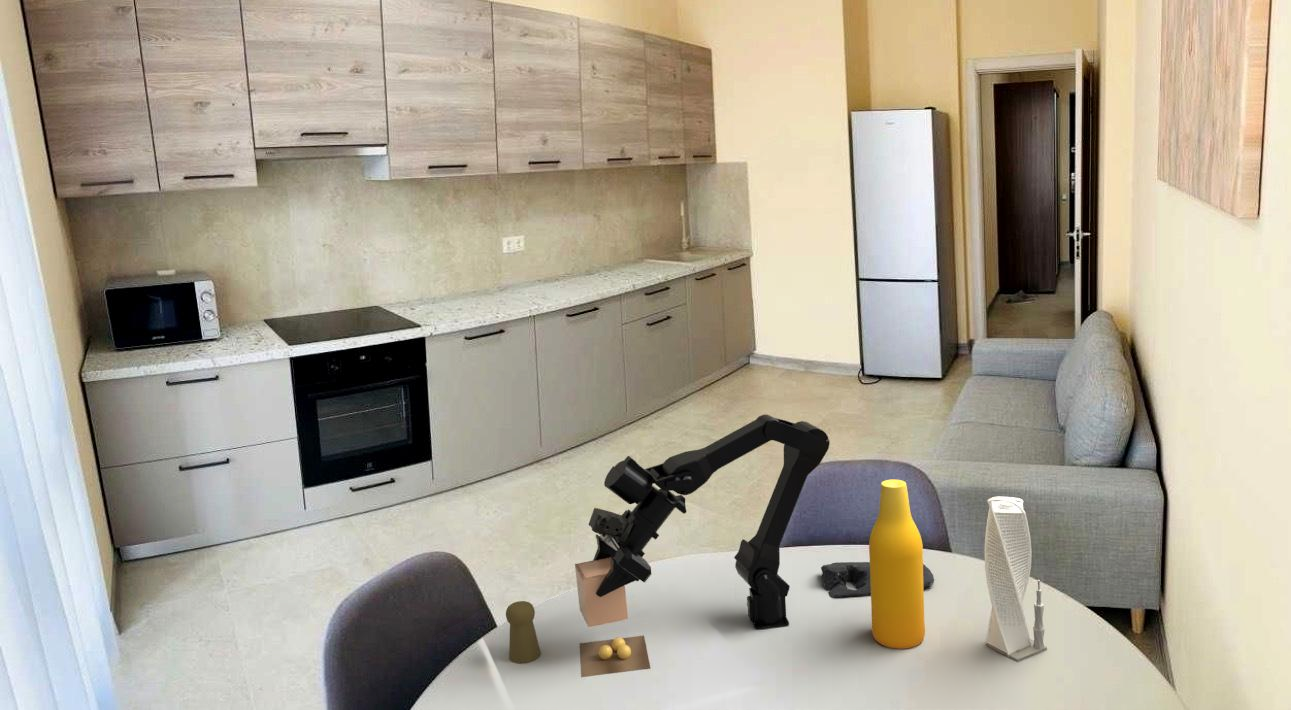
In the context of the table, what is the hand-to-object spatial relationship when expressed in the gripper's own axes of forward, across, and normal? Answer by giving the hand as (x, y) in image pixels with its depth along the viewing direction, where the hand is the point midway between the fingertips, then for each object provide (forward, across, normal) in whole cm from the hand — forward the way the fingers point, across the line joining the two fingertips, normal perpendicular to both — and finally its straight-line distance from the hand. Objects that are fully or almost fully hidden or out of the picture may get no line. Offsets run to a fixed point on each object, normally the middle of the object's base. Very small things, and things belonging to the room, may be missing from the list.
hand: (593, 586), depth 171 cm
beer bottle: (-27, +16, +46) cm, 56 cm away
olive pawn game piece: (+19, -4, +1) cm, 19 cm away
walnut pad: (+8, +2, +11) cm, 14 cm away
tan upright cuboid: (+3, 0, +5) cm, 6 cm away
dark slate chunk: (-32, -6, +52) cm, 62 cm away
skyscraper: (-37, +27, +57) cm, 73 cm away
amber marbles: (+7, +2, +10) cm, 13 cm away
